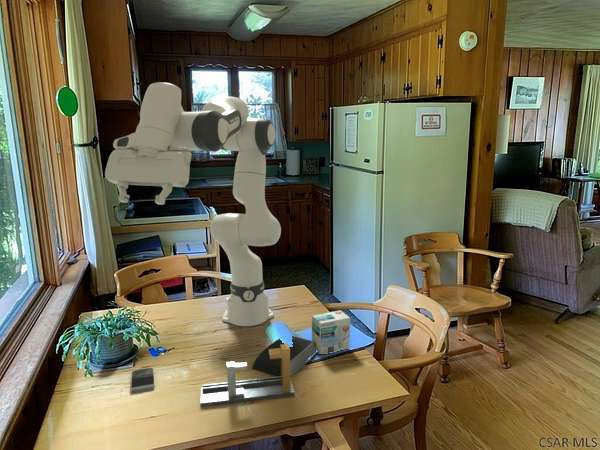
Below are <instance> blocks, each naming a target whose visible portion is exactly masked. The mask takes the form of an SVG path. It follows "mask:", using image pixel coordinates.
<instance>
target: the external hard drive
mask: <svg viewBox="0 0 600 450" xmlns="http://www.w3.org/2000/svg"><path fill="white" fill-rule="evenodd" d="M291 336H292V338H293V339H292V342H293V344H292V345H293V347H289V348H290V377H291V376H293V374H295V373H297V372H298V371H299V370H300V369H301V368H303V367H304V366H305V365H306V364H307V363H306V361H307V360H308V358H309V357H310V356H312V355H313V354H314V353H315V352H316V346H315V342H314V341H312V340H310V339H305V338H302V337H298V336H295V335H291ZM281 344H284V343H282V341H281V340H280V338H278V339H277V340H275V341H274V342H272V343H270V344H269V345H268V346H266V347H265V348H264V349H263V350H262V351H261V352H260V353H259V354H258V355H257V357H256V358H255V359H254V361H253V364H252V367H251V369H252V370H255V371H258V372H261V373H264V374H267V375H270V376H272V377H278V376H281V358H276V359H270V356H269V349H276V348H281V347H280V345H281ZM305 363H306V364H305Z"/></svg>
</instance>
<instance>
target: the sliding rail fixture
mask: <svg viewBox="0 0 600 450" xmlns="http://www.w3.org/2000/svg"><path fill="white" fill-rule="evenodd" d="M280 347H281V348H276V349H269V356H270V359H276V358H281V376H278V377H276V376H271V377H264V378H253V379H252V378H251V379H244V380H236V389H238V388H244V396H239V397H231V398H228V381H227V382H225V381H224V382H217V383H216V382H215V383H206V384H202V387H201V388H200V404H199V405H200V408H207V407H209V408H210V407H217V406H225V405H233V404H240V403H249V402H251V403H252V402H258V401H266V400H267V401H268V400H273V399H274V400H276V399H282V398H290V397H291V398H292V397H295V395H296V392H295V389H294V385H293V382H292V380H291V376H290V348H289V345H288V344H281V345H280Z"/></svg>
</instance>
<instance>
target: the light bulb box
mask: <svg viewBox="0 0 600 450" xmlns="http://www.w3.org/2000/svg"><path fill="white" fill-rule="evenodd" d="M350 340H351V317H350V316H348V315H347V314H346V313H345V312H343V311H342V310H341V309H340V310H336V311H331V312H330V311H329V312H325V313H320V314H314V315H312V316H311V341H314V342H315V346H316V350H317V351H318V352H319V353H320V354H325V353H329V352H334V351H338V350H343V349H348V348H349V349H350V348H351V347H350V346H351V345H350V344H351V341H350ZM318 352H317V353H318ZM319 353H318V354H319Z"/></svg>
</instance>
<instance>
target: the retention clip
mask: <svg viewBox="0 0 600 450" xmlns="http://www.w3.org/2000/svg"><path fill="white" fill-rule="evenodd" d="M247 364H248V363H247V361H243V362H235V361H226V374H227V377H226V379H227V382H228V398H231V397H239V396H244V388H238V389H236V381H237V380H236V377H237V376H236V371H239V370H247V369H248V365H247Z"/></svg>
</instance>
